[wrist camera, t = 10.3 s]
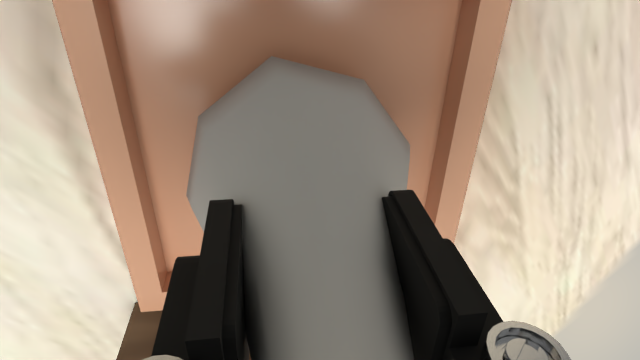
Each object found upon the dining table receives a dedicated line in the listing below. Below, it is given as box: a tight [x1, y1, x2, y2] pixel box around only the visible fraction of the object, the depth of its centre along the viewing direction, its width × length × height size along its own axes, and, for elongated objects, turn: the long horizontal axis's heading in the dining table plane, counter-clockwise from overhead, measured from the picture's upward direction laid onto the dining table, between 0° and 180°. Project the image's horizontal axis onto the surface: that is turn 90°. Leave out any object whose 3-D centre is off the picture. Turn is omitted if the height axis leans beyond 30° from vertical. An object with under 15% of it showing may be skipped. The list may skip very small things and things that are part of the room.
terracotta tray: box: [52, 0, 512, 312], centre depth 15 cm, size 13×13×2 cm
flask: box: [186, 56, 414, 360], centre depth 10 cm, size 7×7×10 cm
